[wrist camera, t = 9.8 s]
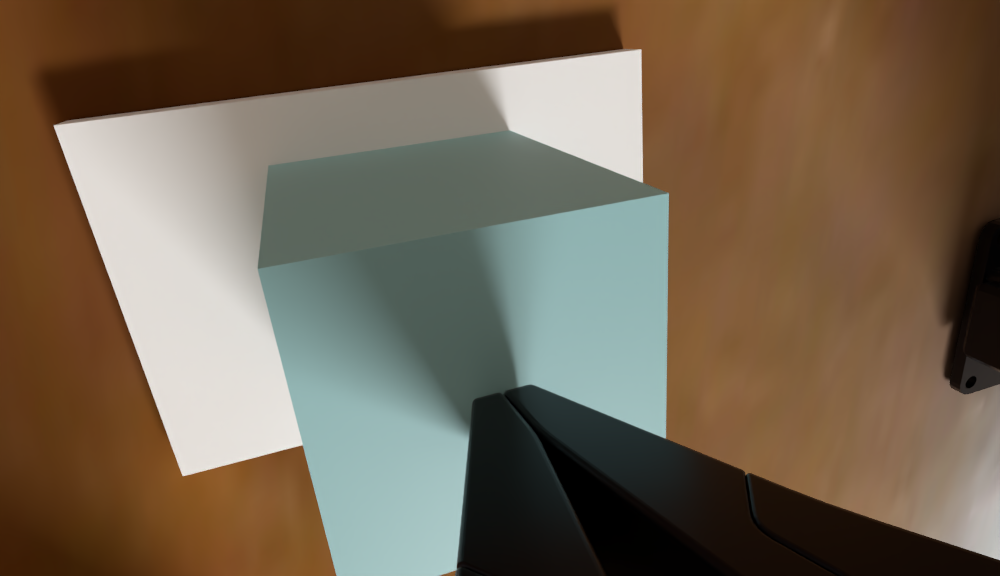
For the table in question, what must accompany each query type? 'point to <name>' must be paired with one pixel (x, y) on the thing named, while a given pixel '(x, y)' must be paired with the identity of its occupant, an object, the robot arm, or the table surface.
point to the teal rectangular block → (451, 319)
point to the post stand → (240, 205)
